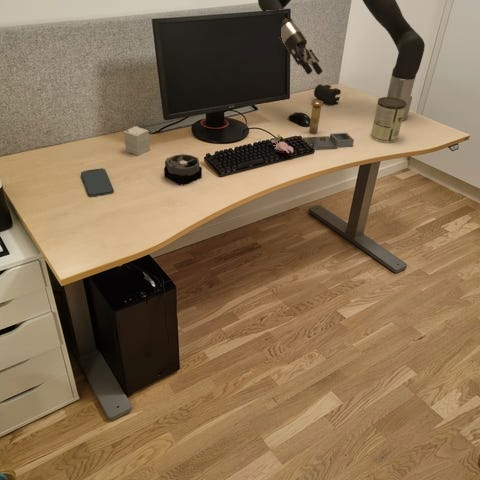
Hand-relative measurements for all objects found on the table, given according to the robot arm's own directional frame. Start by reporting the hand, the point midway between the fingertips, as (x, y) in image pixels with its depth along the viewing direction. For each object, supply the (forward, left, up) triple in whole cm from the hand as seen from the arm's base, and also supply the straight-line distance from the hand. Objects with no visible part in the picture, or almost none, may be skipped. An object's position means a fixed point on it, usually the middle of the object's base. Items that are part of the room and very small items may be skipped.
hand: (315, 73), depth 173 cm
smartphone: (+80, +37, -21) cm, 91 cm away
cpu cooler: (+54, +36, -21) cm, 68 cm away
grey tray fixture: (-1, +18, -21) cm, 27 cm away
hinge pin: (0, +7, -21) cm, 22 cm away
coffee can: (-26, +15, -21) cm, 36 cm away
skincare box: (+67, +15, -21) cm, 72 cm away
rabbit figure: (+18, +21, -21) cm, 35 cm away
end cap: (-18, -26, -21) cm, 38 cm away
